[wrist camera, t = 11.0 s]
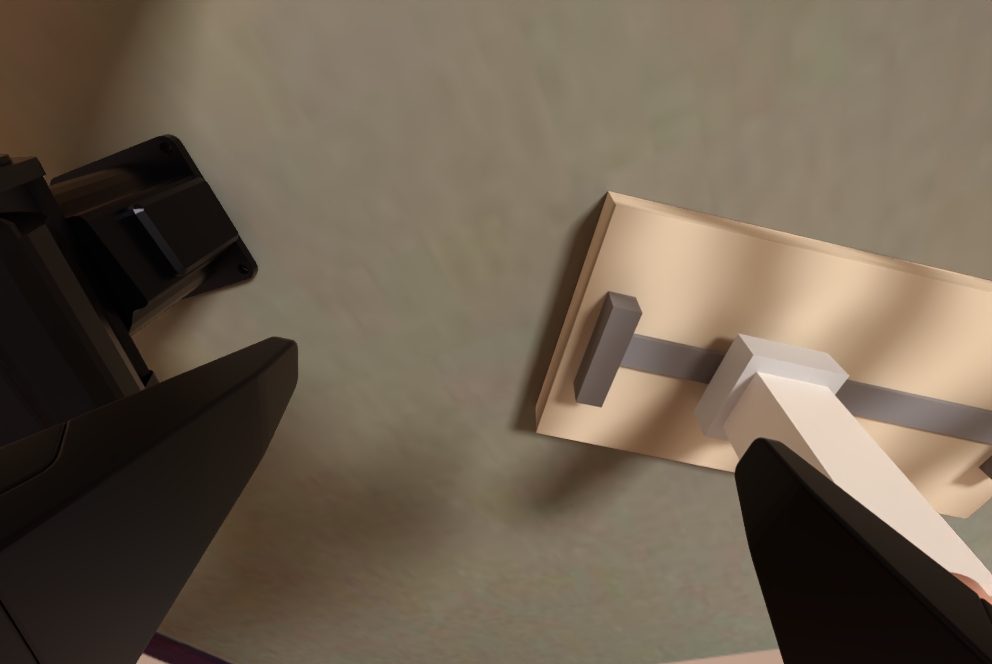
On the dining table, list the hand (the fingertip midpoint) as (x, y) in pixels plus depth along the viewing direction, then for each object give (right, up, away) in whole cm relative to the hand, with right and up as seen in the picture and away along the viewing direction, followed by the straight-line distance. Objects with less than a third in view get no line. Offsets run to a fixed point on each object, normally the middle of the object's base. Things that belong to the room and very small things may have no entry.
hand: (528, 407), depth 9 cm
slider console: (+14, 0, +14) cm, 20 cm away
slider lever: (+11, -1, +12) cm, 16 cm away
